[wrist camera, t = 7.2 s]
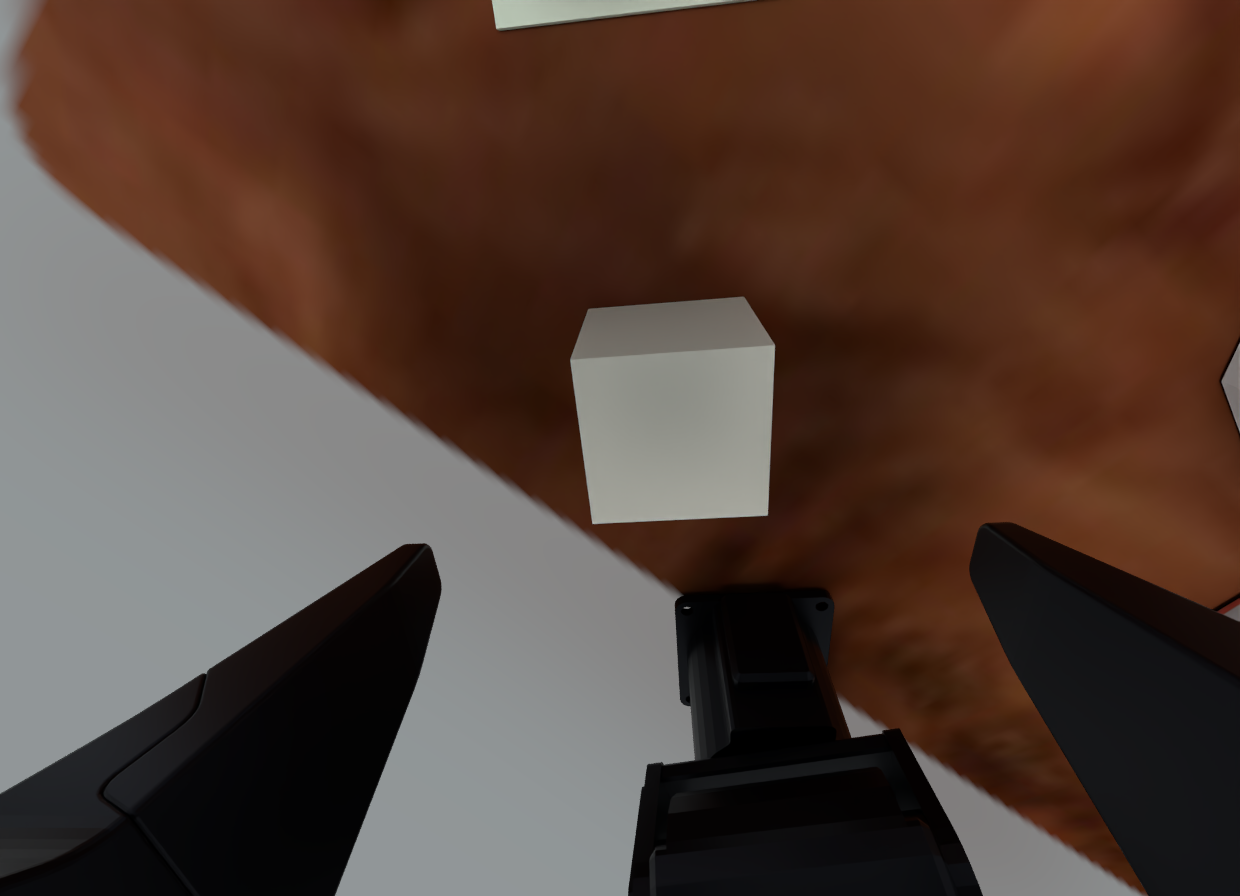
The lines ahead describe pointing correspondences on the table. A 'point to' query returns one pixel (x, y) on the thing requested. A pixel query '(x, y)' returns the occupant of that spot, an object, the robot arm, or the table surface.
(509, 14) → the baseplate
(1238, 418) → the toilet paper
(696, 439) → the cube cream
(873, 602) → the table surface
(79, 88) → the table surface
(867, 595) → the table surface
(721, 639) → the robot arm
